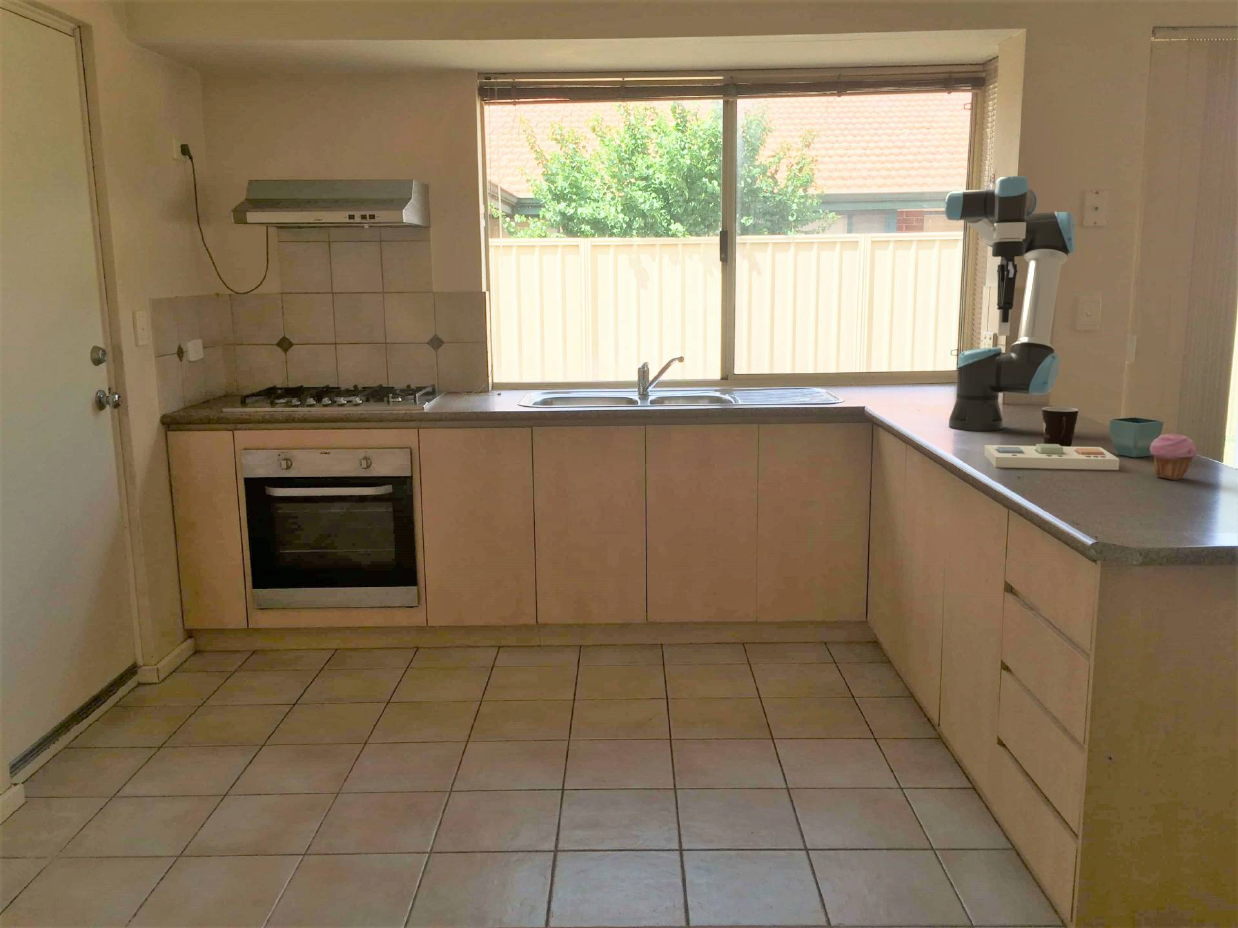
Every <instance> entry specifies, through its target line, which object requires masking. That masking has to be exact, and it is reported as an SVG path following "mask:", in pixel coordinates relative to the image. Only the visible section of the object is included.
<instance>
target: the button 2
mask: <svg viewBox="0 0 1238 928" xmlns="http://www.w3.org/2000/svg"><path fill="white" fill-rule="evenodd" d="M1035 446H1036V452H1037V453H1038V454H1063V447H1061V446H1060V445H1059V444H1044V443H1036V444H1035Z"/></svg>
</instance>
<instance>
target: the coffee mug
mask: <svg viewBox="0 0 1238 928" xmlns="http://www.w3.org/2000/svg"><path fill="white" fill-rule="evenodd" d="M1041 412H1042V429H1043V430H1042V431H1043V444H1059V445H1060V446H1065V447H1072V445H1073V439H1074V435H1075V430H1076V424H1077V419H1078V415H1079V414H1078V413H1079V409H1078V408H1074V407H1065V406H1046V407H1042V408H1041Z"/></svg>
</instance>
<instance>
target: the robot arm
mask: <svg viewBox="0 0 1238 928" xmlns="http://www.w3.org/2000/svg"><path fill="white" fill-rule="evenodd" d="M1038 205H1039V199H1038V196H1037V194H1036V192H1035V191H1034V190H1032V189H1030V187H1029V179H1028V177H1027V176H1023V175H1018V176H1017V175H1014V176H1013V175H1012V176H1004V177H1003V176H1001V177H999V178H998V179H997V180H996V181H995V188H989V189H970V190H969V189H968V190H967V189H965V190H963V189H961V190H955V191H950V192H948V194H947V196H946V198H945V203H944V213H945V216H946V218H947V220H949V221H956V222H958V221H964V222H965V223H966V224H967V225H969V226H970V227H971V228H972V229H974V230H975V231H976V232H977V233H978V236H979V237H980V239H981V241H982V242H983V243H984V244H985V245H987V246H988V247H991V248H992V249H991V251H992V252H991V256H992V257H993V258H1000V261H999V264H997V269H996V273H997V294H996V295H997V299H996V300H997V303H996V306H997V307H996V309H997V311H998V313H997V314H998V315H997V329H996V330H997V331H996V332H997V334H996V336H999V337H1000V336H1001V337H1003V336H1010V334H1011V333H1010V331H1011V316H1012V315H1011V313H1012V312H1011V311H1012V310H1013V307H1014V300H1015V299H1014V298H1015V290H1016V289H1015V288H1016V282H1017V281H1016V279H1017V274H1018V269H1017V268H1018V264H1016V260H1015V257H1023V258H1024V260H1025V261H1026V262H1027V263H1028V265H1027V266H1028V267H1027V273H1026V281H1025V287H1024V293H1023V300H1022V305H1021V306H1022V307H1021V313H1020V321H1019V328H1018V333H1017V340H1016V341H1015V342H1014V343H1012V344H1011V345H1010V349H1009V350H1010V351H1009V352H1003V349H1002V348H1001V346H1000V347H998V346H997V347H996V346H995V347H984V348H983V347H982V348H975V349H968V350H964V351H962V352H961V353H960V354H959V355H958V363H957V364H958V365H957V366H956V368H957V378H956V401H955V403H954V406H953V409H952V410H951V413H950V416H949V419H948V427H949V428H952V429H957V430H963V431H978V432H979V431H980V432H981V431H982V432H985V431H991V432H992V431H999V430H1002V429H1004V418H1003V415H1002V411H1001V408H1000V407H1001V406H1000V402H999V398H1000V397H999V396H1000V395H999V394H1013V395H1014V394H1017V395H1029V396H1034V395H1041V396H1043V395H1047V394H1049V393H1050V392H1051V391H1052V389H1053V387H1054V386H1055V384H1056V381H1057V376H1058V373H1059V366H1060V355H1058V354H1057V353H1056V352H1055V348H1054V346H1053V345H1051V342H1050V341H1051V335H1052V328H1053V323H1054V322H1053V321H1054V315H1055V309H1056V308H1055V307H1056V301H1057V294H1058V288H1059V280H1060V274H1061V273H1060V271H1061V267H1062V265H1063V264H1064V263H1066V262H1067V261H1068V255H1069V254H1070V255H1071V254H1073V253H1075V251H1076V246H1077V245H1076V243H1077V242H1076V241H1077V238H1076V226H1075V220H1074V217H1073V214H1071V213H1070V212H1068V211H1065V212H1064V211H1061V212H1060V211H1054V212H1053V211H1051V212H1035V211H1036V210H1037V208H1038Z"/></svg>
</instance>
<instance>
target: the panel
mask: <svg viewBox="0 0 1238 928" xmlns="http://www.w3.org/2000/svg"><path fill="white" fill-rule="evenodd" d="M997 447H1019V448H1020V449H1022V450H1023V454H1016V453H998V452H997ZM1061 447H1063V454H1038V453H1037V452H1036V445H995V444H994V445H993V444H985V445H984V454H983V455H984V457H985V458H986V459H987V460H988V461H989V462H990V463H991V464H992V465H993V466H994V468H1009V469H1010V468H1011V469H1012V468H1017V469H1055V470H1056V469H1057V470H1058V469H1060V470H1061V469H1062V470H1098V471H1099V470H1100V471H1101V470H1102V471H1103V470H1107V471H1114V470H1115V471H1119V469H1120V459H1119V458H1118V457H1117V456H1115V455H1114V454H1112V453H1110V452H1109V451H1108V450H1106V449H1104V448H1103V447H1102V446H1071V447H1065V446H1061ZM1076 448H1098V449H1100V450H1101V451H1103V452H1104V455H1079V454H1077V453H1076V452H1075V451H1076Z"/></svg>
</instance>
